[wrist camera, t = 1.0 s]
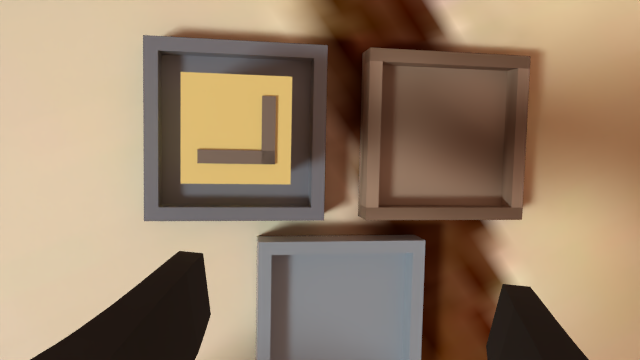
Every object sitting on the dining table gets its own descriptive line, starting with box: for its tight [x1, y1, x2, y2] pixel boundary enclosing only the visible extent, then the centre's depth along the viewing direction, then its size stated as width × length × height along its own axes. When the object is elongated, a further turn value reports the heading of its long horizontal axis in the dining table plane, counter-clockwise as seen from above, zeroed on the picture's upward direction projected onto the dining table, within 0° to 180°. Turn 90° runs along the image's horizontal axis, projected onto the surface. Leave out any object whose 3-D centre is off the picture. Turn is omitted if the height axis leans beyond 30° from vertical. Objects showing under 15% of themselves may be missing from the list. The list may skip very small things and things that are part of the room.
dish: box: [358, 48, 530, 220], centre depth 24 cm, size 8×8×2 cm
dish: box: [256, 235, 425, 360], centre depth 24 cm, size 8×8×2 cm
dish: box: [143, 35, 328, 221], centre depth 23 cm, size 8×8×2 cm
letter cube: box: [181, 72, 292, 184], centre depth 21 cm, size 4×4×5 cm
